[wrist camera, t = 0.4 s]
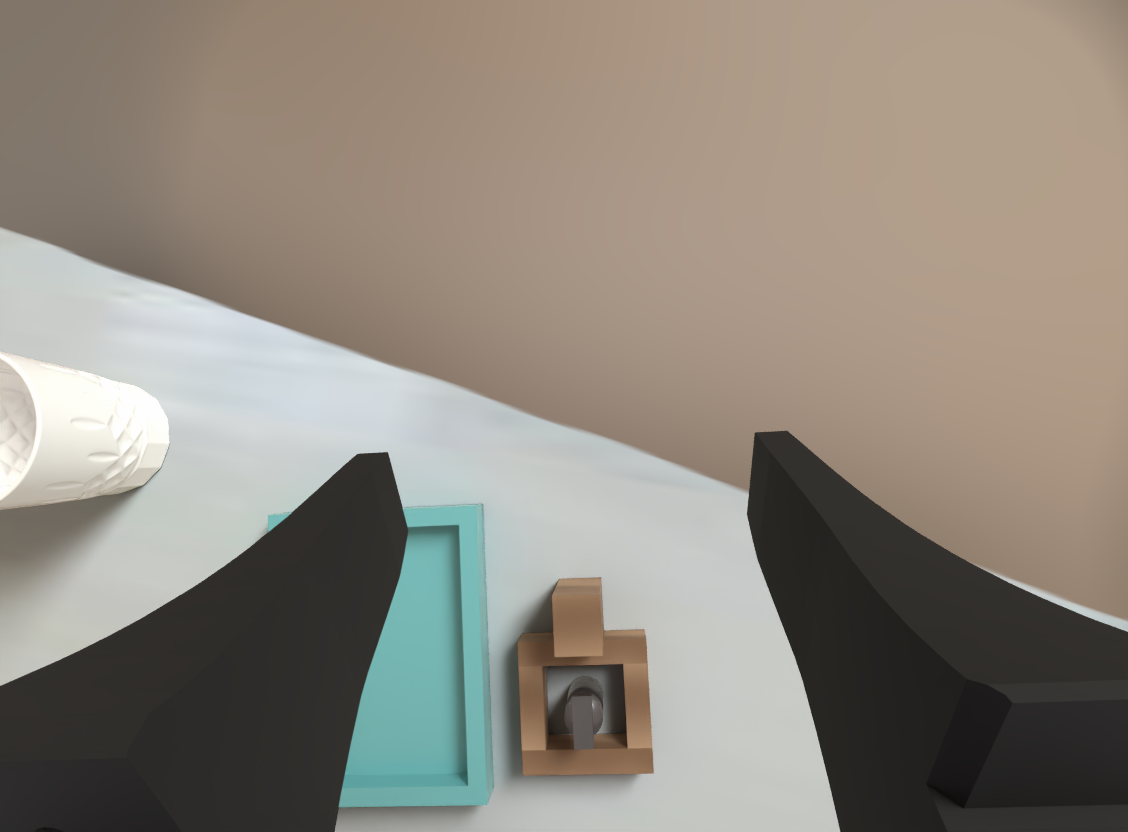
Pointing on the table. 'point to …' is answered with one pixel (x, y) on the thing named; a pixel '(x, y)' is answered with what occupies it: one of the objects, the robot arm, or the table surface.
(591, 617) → the collar
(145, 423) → the white cup
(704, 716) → the table surface
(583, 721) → the stake
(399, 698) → the tray
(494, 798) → the table surface
